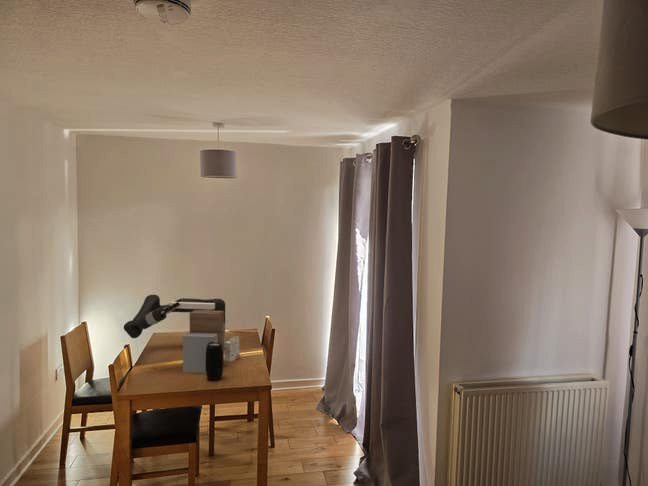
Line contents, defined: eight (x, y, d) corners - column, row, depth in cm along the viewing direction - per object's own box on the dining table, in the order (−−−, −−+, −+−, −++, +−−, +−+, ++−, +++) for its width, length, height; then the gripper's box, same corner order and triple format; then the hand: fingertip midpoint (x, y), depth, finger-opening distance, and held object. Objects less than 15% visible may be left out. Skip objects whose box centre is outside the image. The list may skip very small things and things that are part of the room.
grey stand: (187, 368, 252) (187, 332, 250) (217, 369, 250) (217, 333, 249) (183, 372, 245) (182, 335, 244) (213, 373, 243) (213, 336, 242)
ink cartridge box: (233, 357, 273) (233, 334, 272) (239, 358, 270) (239, 335, 269) (224, 360, 266) (224, 337, 265) (230, 362, 263) (230, 338, 262)
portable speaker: (205, 376, 238) (204, 342, 237) (222, 375, 241) (222, 340, 240) (206, 382, 230) (206, 346, 229) (224, 380, 233) (224, 344, 232)
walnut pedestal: (195, 361, 263) (194, 310, 261) (223, 363, 261) (223, 310, 259) (189, 366, 255) (189, 312, 253) (219, 367, 253) (219, 313, 251)
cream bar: (171, 306, 251) (171, 301, 251) (215, 308, 248) (215, 303, 248) (169, 308, 247) (169, 302, 247) (212, 309, 245) (212, 304, 245)
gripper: (146, 313, 243) (171, 299, 241) (158, 308, 257) (182, 294, 255) (153, 325, 243) (178, 310, 241) (164, 319, 257) (188, 305, 255)
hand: (180, 302), depth 248 cm, fingers closed on cream bar, 3 cm apart
